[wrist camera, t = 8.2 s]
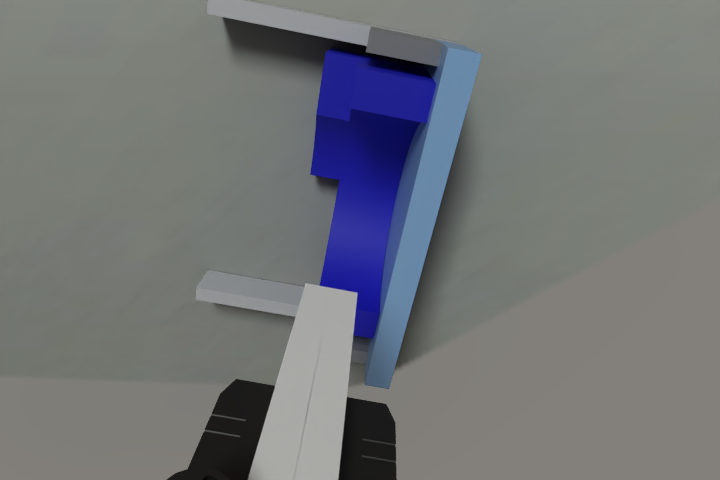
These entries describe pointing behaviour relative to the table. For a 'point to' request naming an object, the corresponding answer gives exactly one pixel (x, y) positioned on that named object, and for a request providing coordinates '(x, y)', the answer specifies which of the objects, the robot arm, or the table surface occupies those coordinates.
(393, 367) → the blue wall bracket
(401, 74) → the blue arched bracket piece
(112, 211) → the table surface
